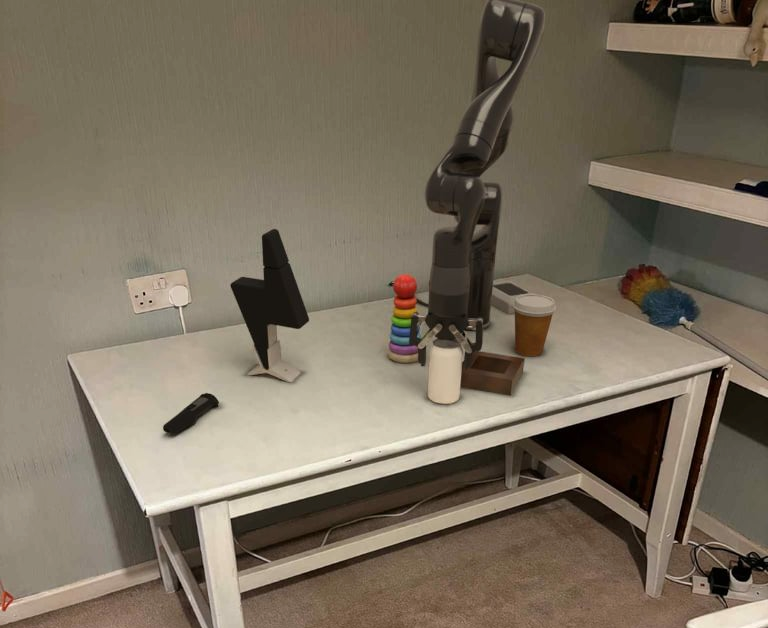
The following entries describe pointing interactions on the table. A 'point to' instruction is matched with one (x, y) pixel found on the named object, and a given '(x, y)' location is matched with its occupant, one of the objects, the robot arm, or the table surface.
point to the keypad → (506, 295)
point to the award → (271, 307)
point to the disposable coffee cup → (532, 323)
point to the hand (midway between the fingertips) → (444, 366)
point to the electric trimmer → (191, 413)
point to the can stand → (492, 372)
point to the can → (445, 371)
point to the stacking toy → (403, 320)
